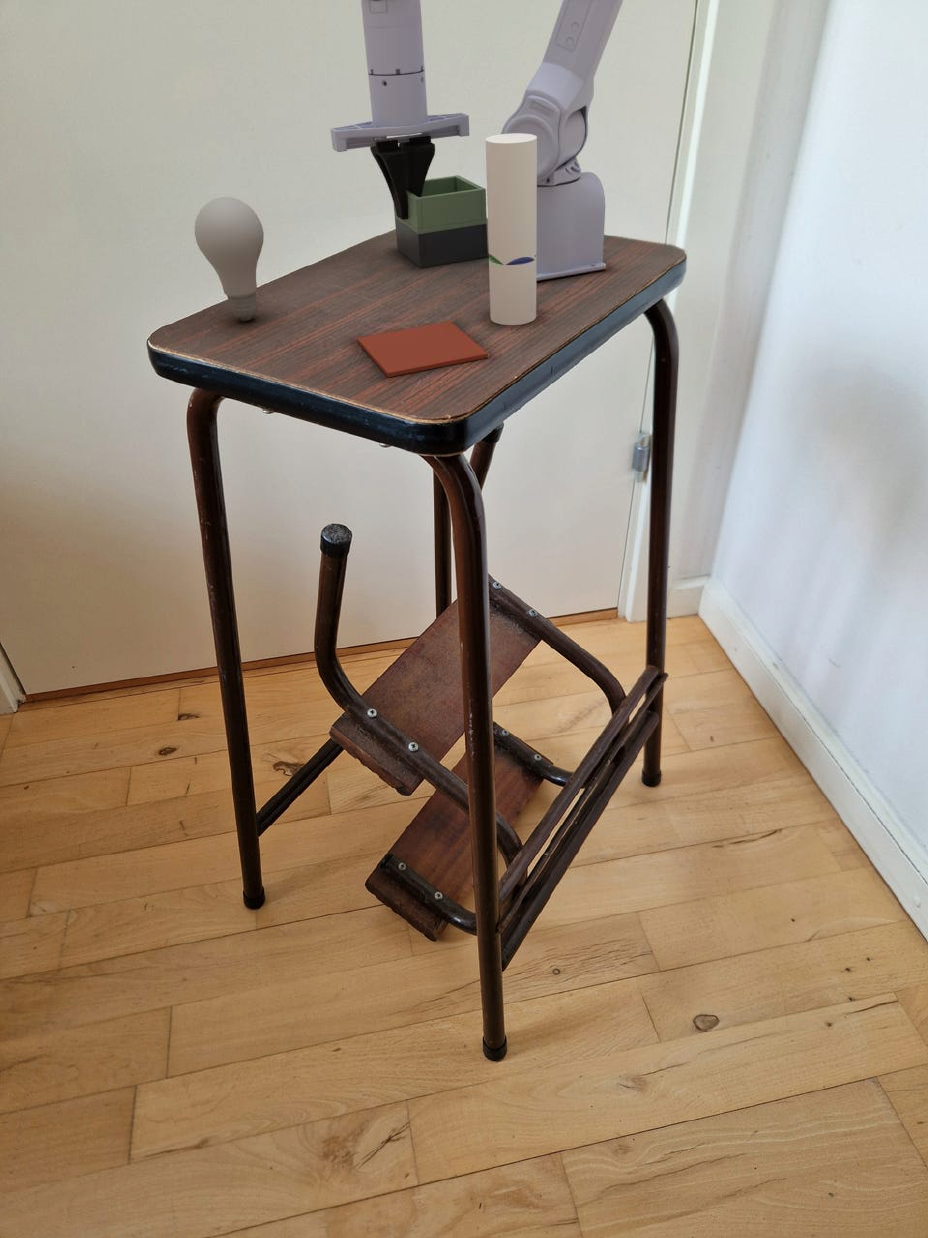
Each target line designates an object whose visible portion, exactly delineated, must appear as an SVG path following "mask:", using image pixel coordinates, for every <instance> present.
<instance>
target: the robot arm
mask: <svg viewBox="0 0 928 1238" xmlns="http://www.w3.org/2000/svg"><path fill="white" fill-rule="evenodd" d="M623 2H624V0H562V3H561V5H560V8H559V10H558V11H559V12H558V14H557V17H556V20H555V23H554V26H553V28H552V31H551V35H550V39H549V40H548V44H547V47H546V49H545V53H544V55H543V58H542V62H541V63H540V65H539V67H538V69H537V70H536V72H535V74H534V75H533V76H532V78H531V80H530V81H529V84H528V85H527V86H526V89H525V90H524V94H523V97H522V100H521V102H520V104H519V106H518V107H517V108H516V110H515V111H514V112H513V113H512V114H511V115H510V116H509V117H508V118H507V119H506V121H505V122H504V124H503V127H502V129H501V131H500V134H511V133H523V134H532V135H535V136H537V244H536V282H539V281H545V280H550V279H555V278H562V277H566V276H572V275H579V274H584V273H589V272H595V271H601V270H605V269H607V264H606V263H605V262H604V244H605V243H604V242H605V225H606V224H605V222H606V197H605V196H606V195H605V190H604V186H603V183H602V180H601V179H600V177H599V176H598V175H597V174H596V173H594V172H591V171H582V168H581V165H580V164H579V160H578V158H577V157H578V156H579V155H580V153H581V152H582V151H583V149H584V148H585V145H586V143H587V140H588V136H589V110H590V107H591V103H592V102H593V99H594V96H595V84H594V82H595V76H596V73H597V71H598V68H599V65H600V63H601V61H602V58H603V55H604V52H605V50H606V46H607V45H608V42H609V39H610V37H611V34H612V31H613V29H614V25H615V23H616V21H617V18H618V16H619V14H620V10H621V8H622V5H623ZM360 4H361V15H362V27H363V36H364V37H363V38H364V48H365V57H366V66H367V68H366V69H367V76H368V78H367V79H368V87H369V98H370V108H371V109H370V110H371V116H372V117H371V119H372V120H370V121H365V122H361V123H360V122H359V123H355V124H354V123H353V124H350V125H345V126H338V127H330V129H329V130H330V137H331V146H332V150H334V151H335V152H337V153H341V152H348V150H355V149H363V148H369V149H370V153H371V155H372V156H373V158H374V160H375V162H376V164H377V166H378V168H379V169H380V171H381V174H382V176H383V177H384V180H385V182H386V185H387V187H388V190H389V193H390V196H391V199H392V203H393V202H394V203H393V207H394V206H395V210H396V215H397V217H399V218H400V219H402V220H405V219H408V202H407V193H406V190H407V191H409V192H411V193H412V194H414V195H416V196H417V197H421V196H422V191H423V187H424V183H425V180H427V176H428V172H429V170H430V167H431V165H432V163H433V159H434V158H435V156H436V144H435V143H433V142H432V140H435V139H436V140H437V139H442V138H451V137H463V138H464V137H470V116H469V114H466V113H463V112H457V113H445V114H428V97H427V83H426V70H425V69H426V67H425V53H424V50H425V49H424V37H423V35H424V34H423V20H422V19H423V18H422V7H421V6H422V5H421V0H360Z"/></svg>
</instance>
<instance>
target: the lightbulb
mask: <svg viewBox="0 0 928 1238" xmlns="http://www.w3.org/2000/svg"><path fill="white" fill-rule="evenodd" d="M194 237H195V243H196V244H197V246H198V248H199V250H200V252H201V253H202V255H203V256H204V258H205V259H206V261H207V262H208V263H209V264H210V265H211V266H212V268H213V269H214V271H215V273H216V275H217V276H218V279H219V281H220V284H221V287H222V290H223V294H224V295H226V297H227V300H228V305H229V309H230V311H231V315H232V316H233V317H235V318H236V319H237V318H238V319H239V320H240V321H243V322H246V321H250V320H252V319H253V317H254V316H255V315H257V314H258V312H259V309H258V300H257V294H256V292H257V291H258V285H257V269H258V268H257V267H258V263H259V259H260V256H261V253H262V249H263V246H264V237H265V235H264V229H263V224H262V222H261V220H260V218H259V216H258V214H257V212H256V211H254V209H253V208H252V207H251V206H250V205H249V204H248V203H245V202H244V201H242V200H240V199H237V198H236V197H229V196H219V197H216V198H214V199H211V200H210V201H208V202H207V203H205V205H203V206H202V208H200V210H199V212H198V214H197V215H196V219H195V221H194Z"/></svg>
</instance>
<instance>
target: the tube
mask: <svg viewBox="0 0 928 1238" xmlns="http://www.w3.org/2000/svg"><path fill="white" fill-rule="evenodd" d="M485 165H486V167H485V170H486V209H487V245H488V256H489V258H488V273H489V274H488V275H489V276H488V277H489V310H490V311H489V312H490V314H489V315H490V320H491V321H492V322H493V323H494V324H498V325H502V326H520V325H525V324H529V323H531V322H533V321H535V320H536V319H537V281H536V244H537V136H535V135H532V134H523V133H511V134H501V133H500V134H494V135H490V136H488V137H486V138H485Z"/></svg>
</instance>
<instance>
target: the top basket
mask: <svg viewBox="0 0 928 1238" xmlns="http://www.w3.org/2000/svg"><path fill="white" fill-rule="evenodd" d="M406 193H407V202H408V219H405V220H402V219H400V218H399V217H397V215H396V210H395V206H394V205H393V213H394V214H393V215H394V219H395V218H396V219H397V220H399V221H400V222H401V223H403V224H404V225H406V226H407V227H409V228H410V229H411V230H413V231H414V232H416V233H417V234H424V233H430V232H436V231H443V230H449V229H455V228H462V227H468V226H475V225H481V224H487V225H488V213H487V188H484V187H482V185H481V186H480V185H478V184H477V183H474V182H473V181H471V180H468V179H467V178H464V177H463V176H461V175H459V174H456V175H450V176H449V175H448V176H444V177H443V176H442V177H435V178H428V179H425V183H424V187H423V191H422V196H421V197H417V196H416V195H414V194H412V193H411V192H409V191H407V190H406ZM392 204H394V202H393V201H392Z"/></svg>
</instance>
